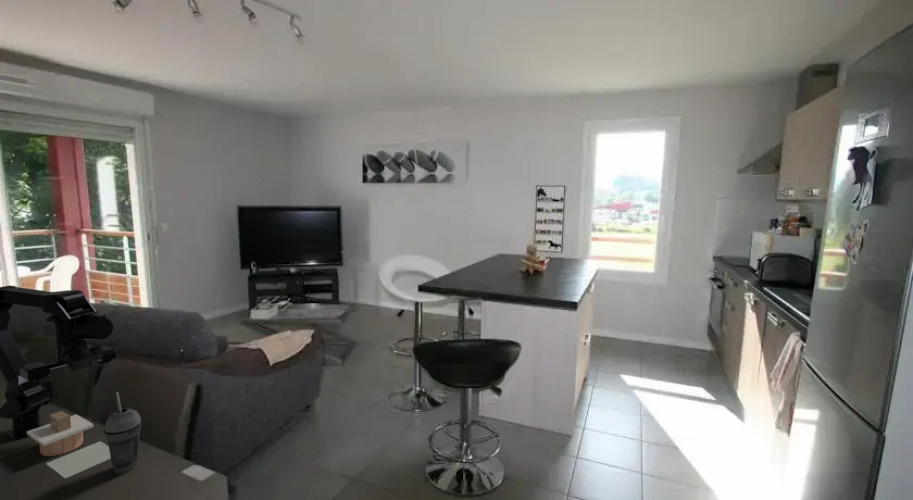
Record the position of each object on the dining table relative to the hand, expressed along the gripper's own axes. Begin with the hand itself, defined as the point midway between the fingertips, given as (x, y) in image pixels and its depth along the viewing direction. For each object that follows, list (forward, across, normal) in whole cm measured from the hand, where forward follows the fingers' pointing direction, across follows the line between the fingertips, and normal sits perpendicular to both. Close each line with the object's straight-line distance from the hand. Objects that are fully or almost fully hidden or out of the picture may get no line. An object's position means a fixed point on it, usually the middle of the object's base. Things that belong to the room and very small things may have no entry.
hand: (74, 391), depth 112 cm
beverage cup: (+13, -1, -28) cm, 31 cm away
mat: (+13, -4, -15) cm, 20 cm away
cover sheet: (+8, -4, -4) cm, 10 cm away
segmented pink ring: (+13, -4, -4) cm, 14 cm away
